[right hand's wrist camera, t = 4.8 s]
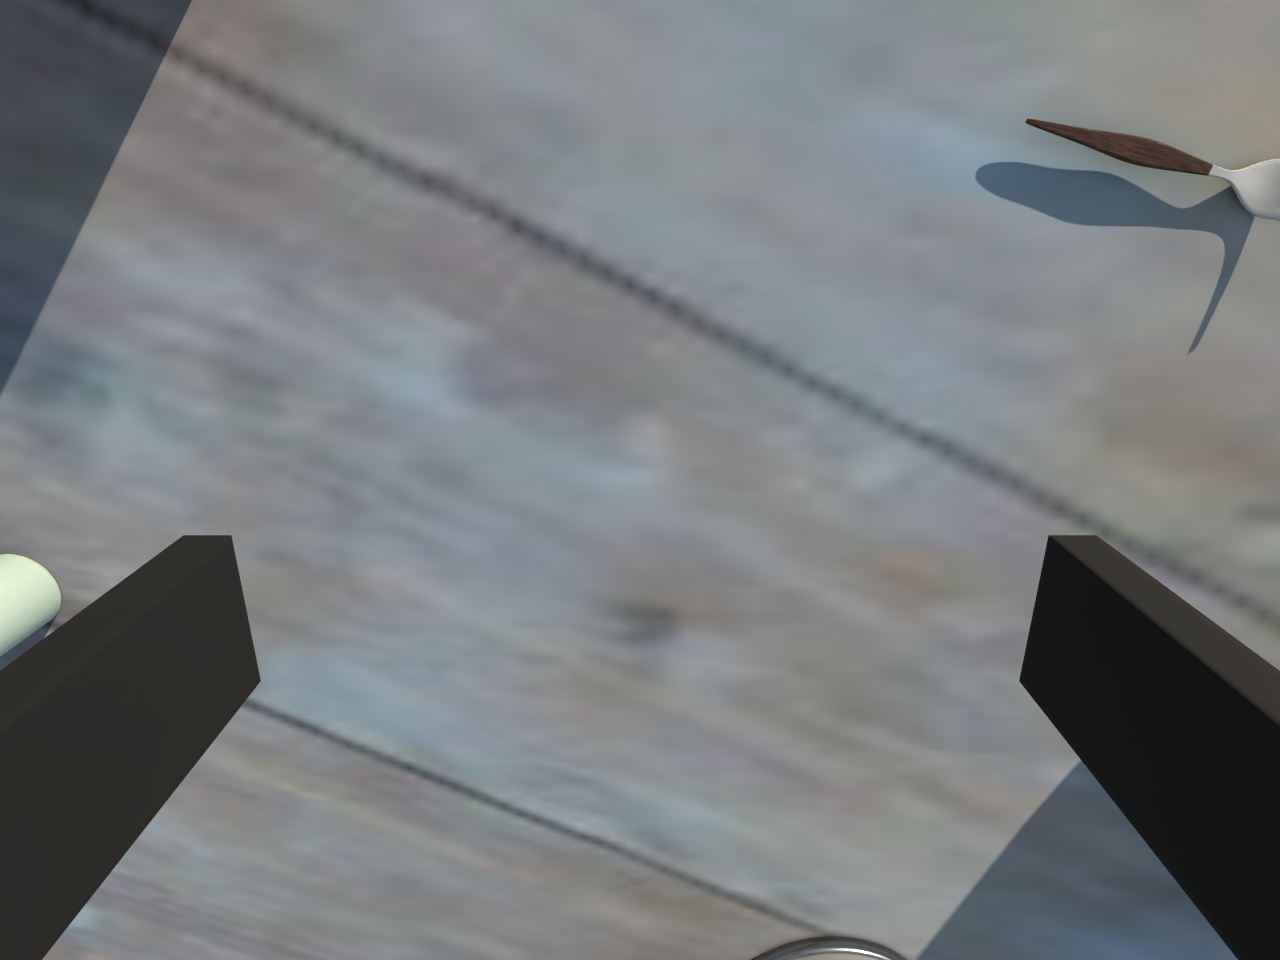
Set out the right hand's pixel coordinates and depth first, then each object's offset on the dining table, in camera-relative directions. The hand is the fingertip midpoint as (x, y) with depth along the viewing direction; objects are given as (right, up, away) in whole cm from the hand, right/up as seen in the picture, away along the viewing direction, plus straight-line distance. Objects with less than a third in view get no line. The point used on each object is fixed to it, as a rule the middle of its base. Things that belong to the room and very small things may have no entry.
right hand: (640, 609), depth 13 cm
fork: (+25, +17, +24) cm, 39 cm away
